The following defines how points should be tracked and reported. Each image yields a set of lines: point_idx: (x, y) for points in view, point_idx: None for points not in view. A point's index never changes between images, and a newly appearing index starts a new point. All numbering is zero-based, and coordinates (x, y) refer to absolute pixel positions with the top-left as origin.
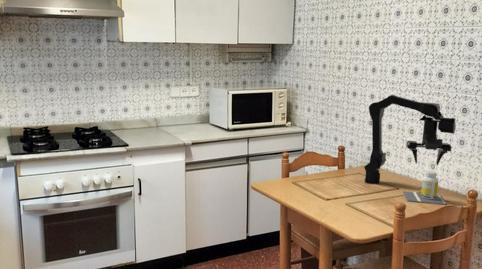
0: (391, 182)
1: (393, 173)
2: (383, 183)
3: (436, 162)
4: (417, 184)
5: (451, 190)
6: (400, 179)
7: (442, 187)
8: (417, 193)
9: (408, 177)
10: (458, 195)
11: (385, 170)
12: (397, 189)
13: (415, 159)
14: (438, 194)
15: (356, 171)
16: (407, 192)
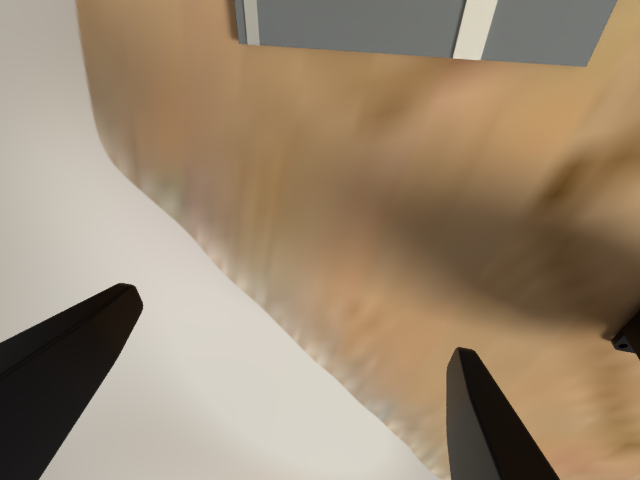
0: (513, 318)
1: (414, 427)
2: (599, 297)
3: (124, 337)
4: (347, 292)
5: (164, 202)
6: (418, 362)
7: (212, 252)
8: (450, 13)
9: (359, 384)
10: (112, 88)
11: (435, 455)
12: (576, 159)
13: (519, 429)
14: (248, 28)
15: (619, 463)
16: (556, 24)
